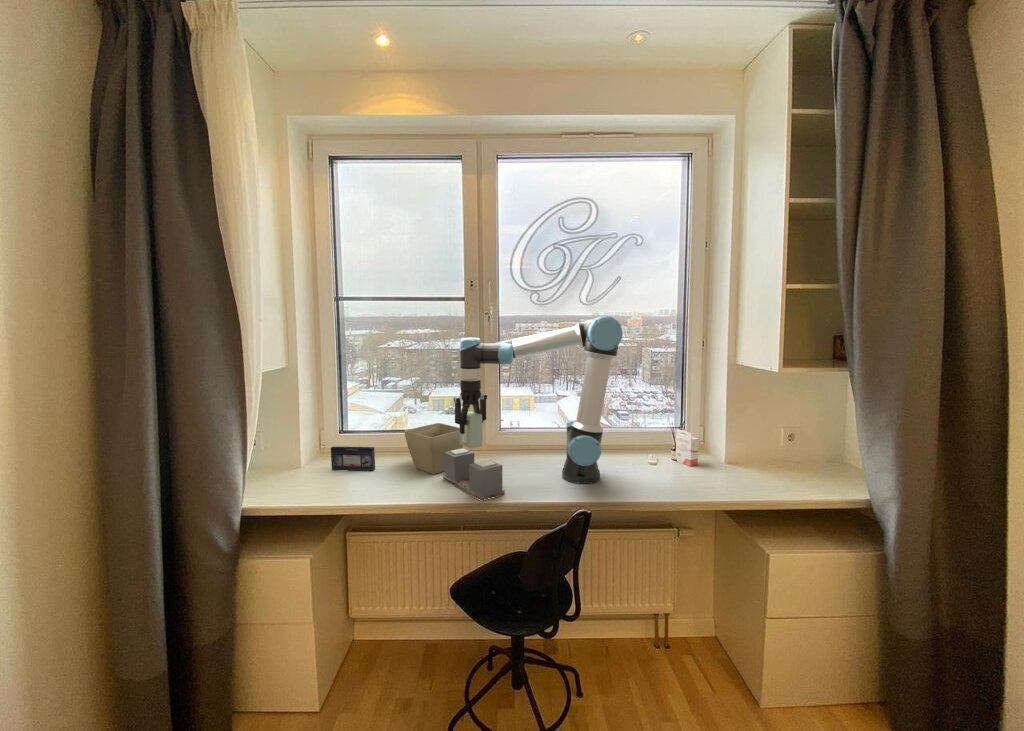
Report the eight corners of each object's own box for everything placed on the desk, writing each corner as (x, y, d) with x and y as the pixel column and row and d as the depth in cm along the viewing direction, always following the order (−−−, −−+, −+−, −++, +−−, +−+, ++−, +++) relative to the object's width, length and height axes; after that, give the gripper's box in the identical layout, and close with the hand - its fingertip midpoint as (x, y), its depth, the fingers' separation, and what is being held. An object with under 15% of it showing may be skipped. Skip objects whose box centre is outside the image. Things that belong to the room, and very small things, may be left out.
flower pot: (404, 468, 193) (403, 430, 191) (439, 458, 207) (438, 422, 205) (431, 479, 180) (430, 437, 178) (467, 467, 194) (466, 428, 192)
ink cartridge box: (698, 465, 195) (699, 431, 193) (690, 466, 192) (691, 433, 191) (682, 459, 202) (683, 427, 201) (674, 461, 200) (675, 428, 198)
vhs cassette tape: (331, 470, 191) (330, 447, 190) (334, 468, 194) (333, 445, 193) (372, 472, 189) (371, 448, 187) (375, 469, 191) (374, 446, 190)
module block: (471, 441, 175) (471, 411, 173) (482, 446, 168) (482, 414, 167) (459, 443, 172) (459, 412, 170) (470, 448, 165) (470, 416, 164)
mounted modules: (464, 471, 185) (463, 446, 184) (502, 491, 163) (502, 463, 162) (444, 476, 179) (444, 450, 178) (481, 497, 158) (481, 468, 157)
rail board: (464, 473, 186) (464, 469, 185) (504, 494, 163) (504, 490, 163) (443, 478, 180) (443, 475, 179) (481, 501, 157) (481, 497, 157)
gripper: (485, 376, 176) (485, 434, 178) (444, 380, 165) (444, 442, 167) (496, 378, 170) (496, 439, 172) (454, 382, 159) (454, 447, 161)
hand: (470, 440), depth 170 cm, fingers closed on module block, 5 cm apart
